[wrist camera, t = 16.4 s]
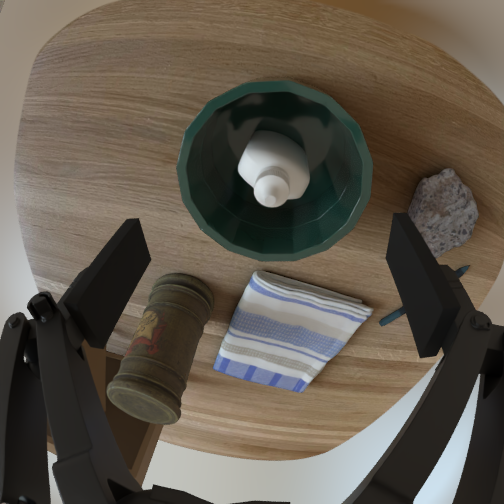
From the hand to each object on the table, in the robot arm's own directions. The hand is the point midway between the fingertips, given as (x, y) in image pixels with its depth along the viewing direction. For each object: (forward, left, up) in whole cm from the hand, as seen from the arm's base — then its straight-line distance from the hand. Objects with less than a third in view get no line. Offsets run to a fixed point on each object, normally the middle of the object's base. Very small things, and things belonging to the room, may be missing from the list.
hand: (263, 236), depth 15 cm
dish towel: (+28, 0, -17) cm, 33 cm away
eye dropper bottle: (0, 0, -17) cm, 17 cm away
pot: (0, 0, -17) cm, 17 cm away
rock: (+7, +18, -17) cm, 26 cm away
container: (+20, -14, -17) cm, 30 cm away
